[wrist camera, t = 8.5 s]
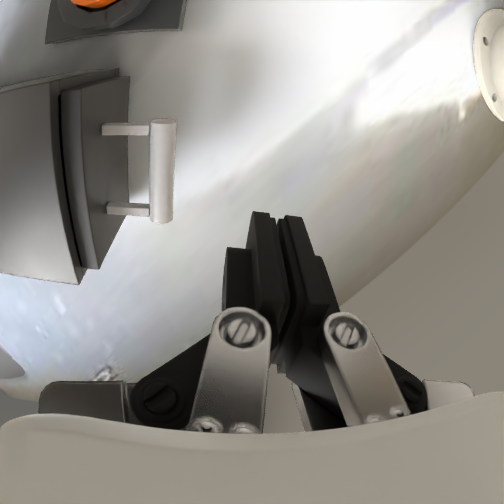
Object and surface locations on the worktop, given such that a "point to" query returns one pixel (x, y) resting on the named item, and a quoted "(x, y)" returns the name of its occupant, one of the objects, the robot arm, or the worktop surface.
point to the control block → (112, 18)
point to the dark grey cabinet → (37, 181)
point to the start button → (93, 3)
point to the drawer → (109, 164)
